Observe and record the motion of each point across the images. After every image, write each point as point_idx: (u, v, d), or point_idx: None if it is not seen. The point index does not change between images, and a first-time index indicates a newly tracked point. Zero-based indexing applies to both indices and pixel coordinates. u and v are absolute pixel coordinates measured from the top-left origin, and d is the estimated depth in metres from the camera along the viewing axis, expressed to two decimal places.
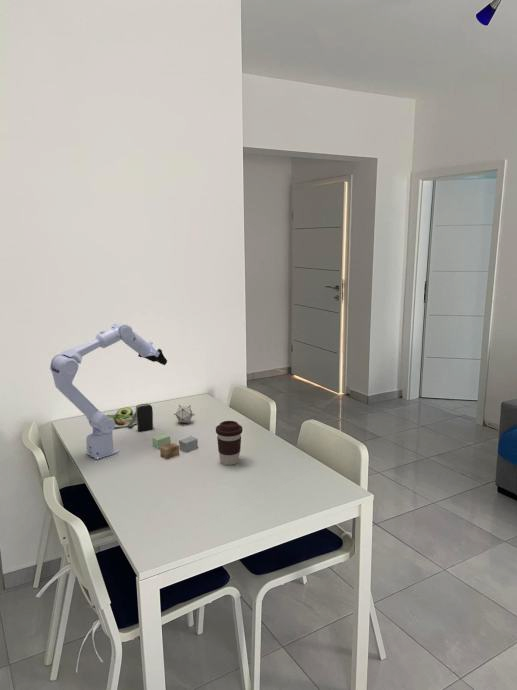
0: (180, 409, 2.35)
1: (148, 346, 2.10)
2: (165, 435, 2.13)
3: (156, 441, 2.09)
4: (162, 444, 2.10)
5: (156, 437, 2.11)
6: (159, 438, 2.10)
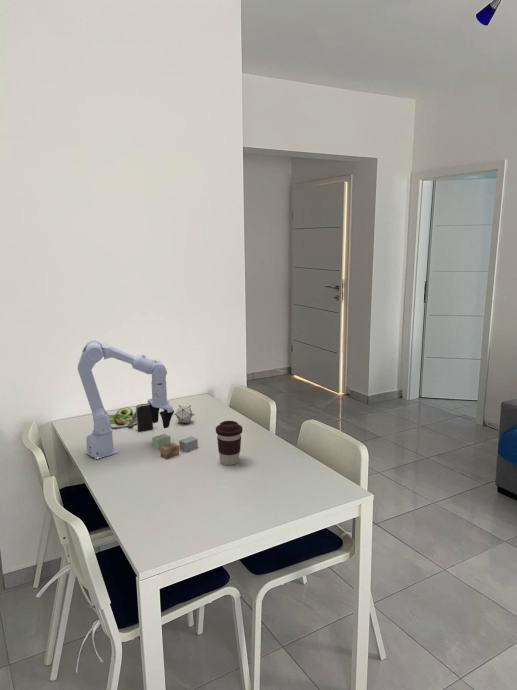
0: (180, 409, 2.35)
1: (166, 400, 2.08)
2: (165, 435, 2.13)
3: (156, 441, 2.09)
4: (162, 444, 2.10)
5: (156, 437, 2.11)
6: (159, 438, 2.10)
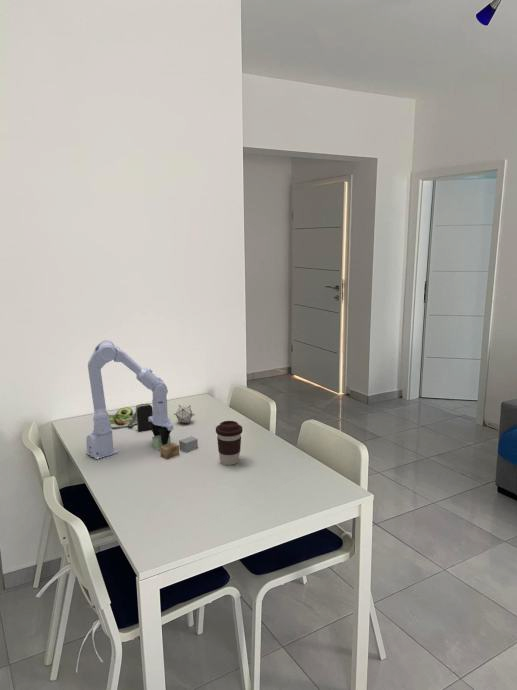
0: (180, 409, 2.35)
1: (166, 418, 2.09)
2: None
3: (156, 441, 2.09)
4: None
5: (156, 437, 2.11)
6: (159, 438, 2.10)
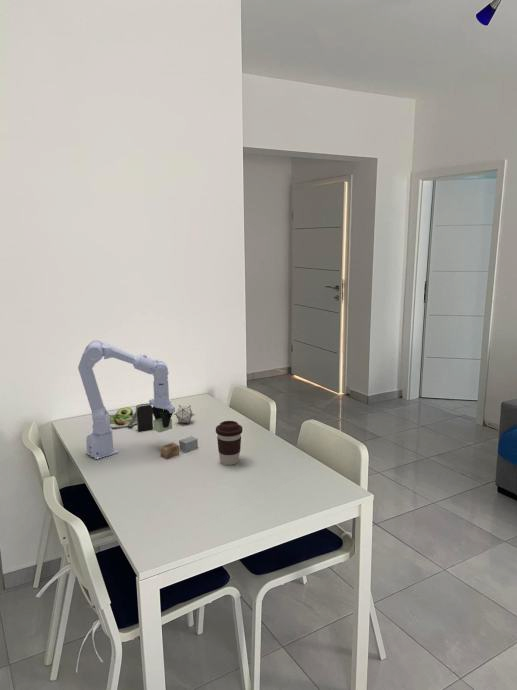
0: (180, 409, 2.35)
1: (168, 401, 2.05)
2: None
3: (157, 424, 2.05)
4: (163, 427, 2.07)
5: (157, 420, 2.07)
6: (160, 421, 2.06)
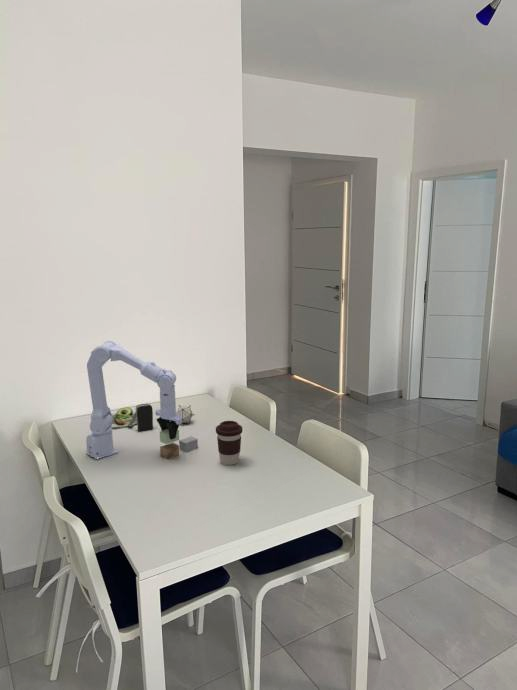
0: (180, 409, 2.35)
1: (174, 412, 1.99)
2: None
3: (164, 435, 1.99)
4: None
5: (164, 431, 2.01)
6: (167, 432, 2.00)
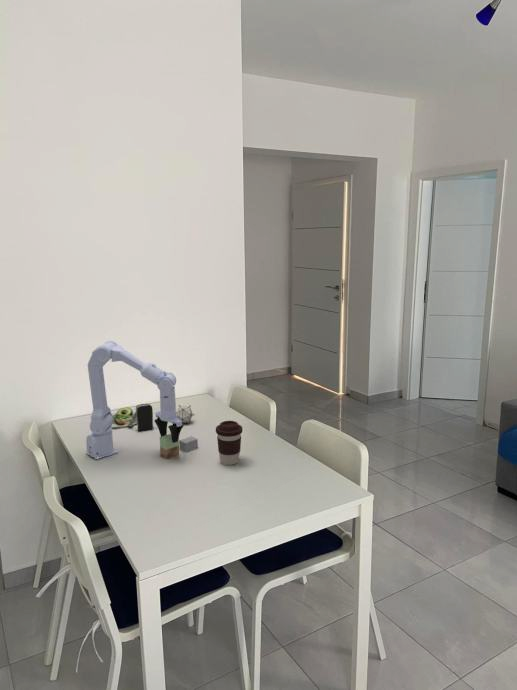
0: (180, 409, 2.35)
1: (174, 414, 1.99)
2: None
3: (164, 441, 1.99)
4: (170, 444, 2.01)
5: (164, 437, 2.01)
6: (167, 438, 2.00)
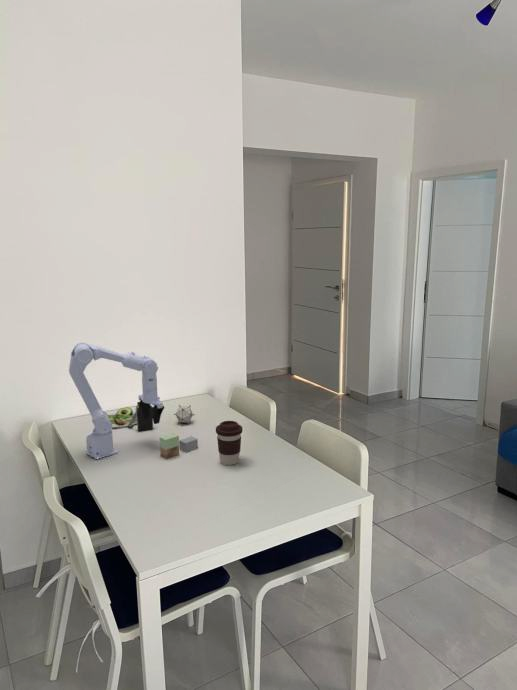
0: (180, 409, 2.35)
1: (156, 396, 2.08)
2: (173, 435, 2.03)
3: (164, 441, 1.99)
4: (170, 444, 2.01)
5: (164, 436, 2.01)
6: (167, 438, 2.00)
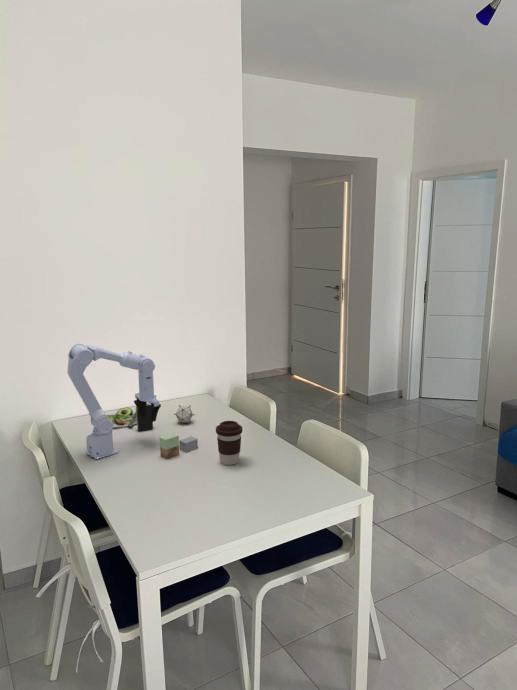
0: (180, 409, 2.35)
1: (152, 394, 2.10)
2: (173, 435, 2.03)
3: (164, 441, 1.99)
4: (170, 444, 2.00)
5: (164, 436, 2.01)
6: (167, 438, 2.00)
